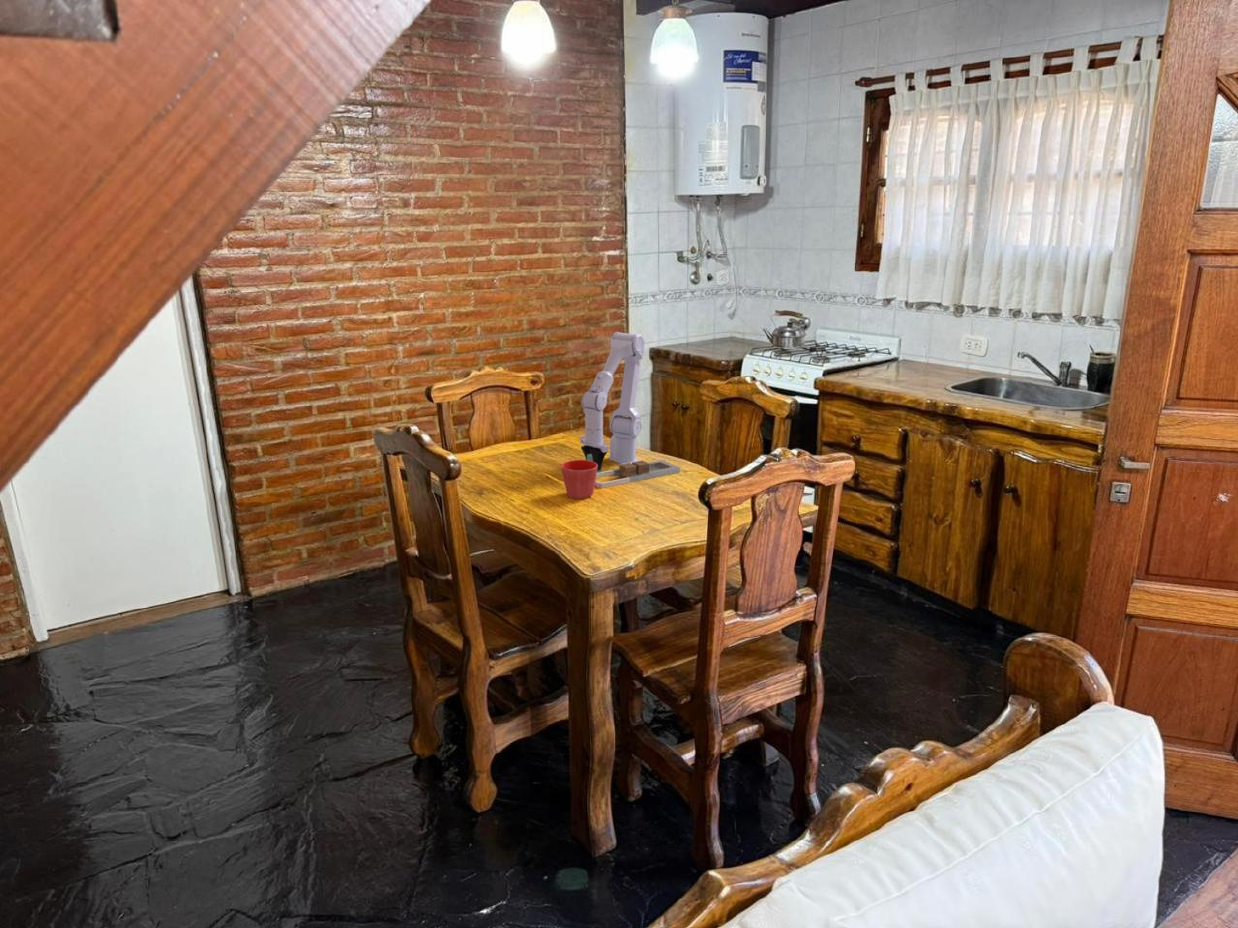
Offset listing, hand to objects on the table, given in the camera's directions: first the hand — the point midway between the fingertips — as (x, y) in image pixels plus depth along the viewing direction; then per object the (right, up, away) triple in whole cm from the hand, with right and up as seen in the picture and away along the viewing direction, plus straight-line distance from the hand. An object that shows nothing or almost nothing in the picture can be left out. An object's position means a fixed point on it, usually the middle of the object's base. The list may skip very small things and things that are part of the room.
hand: (594, 468), depth 274 cm
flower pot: (-4, -8, -20) cm, 22 cm away
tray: (+4, -4, -8) cm, 10 cm away
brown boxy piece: (+11, -3, -4) cm, 12 cm away
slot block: (+17, -2, 0) cm, 17 cm away
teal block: (0, -2, +1) cm, 2 cm away
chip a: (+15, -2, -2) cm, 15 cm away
